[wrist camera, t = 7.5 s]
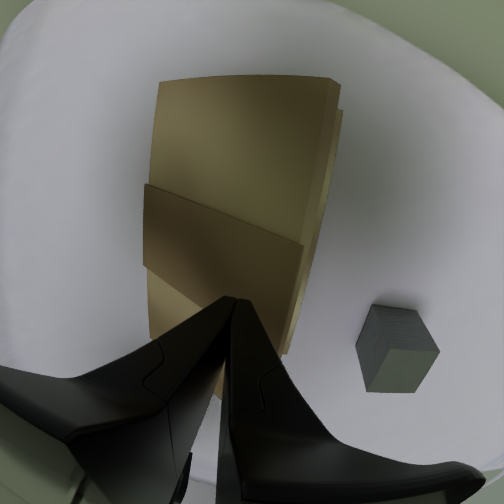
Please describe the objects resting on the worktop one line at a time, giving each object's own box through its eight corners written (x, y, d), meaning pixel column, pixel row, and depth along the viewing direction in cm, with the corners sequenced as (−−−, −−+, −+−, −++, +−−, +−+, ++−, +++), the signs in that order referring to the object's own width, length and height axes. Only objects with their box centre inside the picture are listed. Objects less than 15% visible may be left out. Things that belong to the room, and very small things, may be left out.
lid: (266, 417, 13) (255, 427, 12) (158, 331, 18) (146, 336, 17) (346, 86, 8) (334, 77, 7) (170, 84, 12) (155, 82, 12)
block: (397, 350, 22) (414, 392, 17) (355, 346, 22) (366, 392, 17) (416, 310, 20) (440, 351, 16) (372, 304, 20) (390, 348, 16)
